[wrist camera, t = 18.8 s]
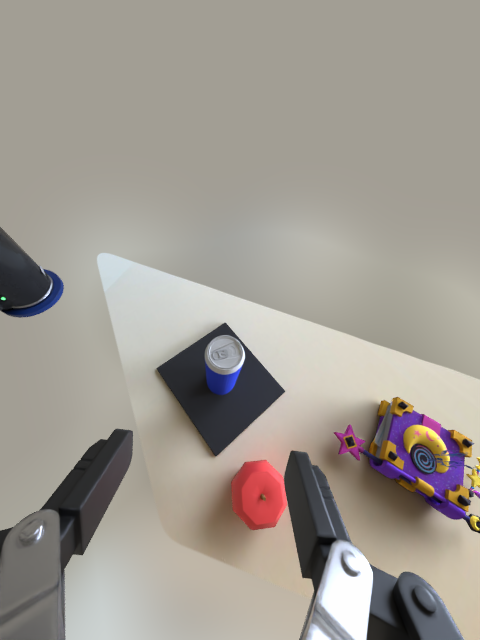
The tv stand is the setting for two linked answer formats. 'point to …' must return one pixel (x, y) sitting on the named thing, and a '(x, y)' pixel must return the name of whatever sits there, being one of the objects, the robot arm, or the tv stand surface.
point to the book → (420, 458)
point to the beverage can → (223, 363)
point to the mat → (212, 409)
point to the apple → (258, 495)
